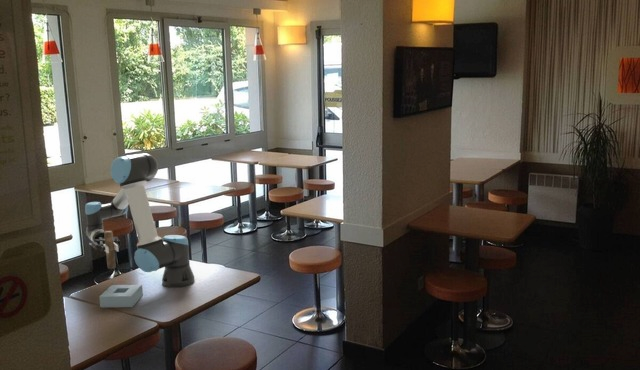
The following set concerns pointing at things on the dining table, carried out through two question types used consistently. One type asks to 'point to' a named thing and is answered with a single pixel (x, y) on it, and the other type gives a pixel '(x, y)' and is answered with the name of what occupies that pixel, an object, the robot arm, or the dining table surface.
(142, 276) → the dining table surface
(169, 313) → the dining table surface
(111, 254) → the walnut peg
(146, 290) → the dining table surface
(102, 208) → the robot arm
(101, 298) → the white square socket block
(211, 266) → the dining table surface
